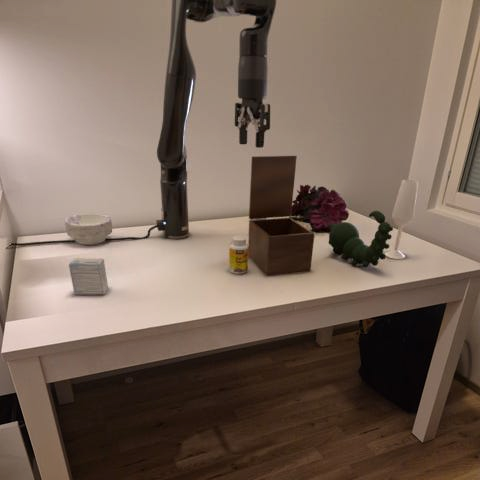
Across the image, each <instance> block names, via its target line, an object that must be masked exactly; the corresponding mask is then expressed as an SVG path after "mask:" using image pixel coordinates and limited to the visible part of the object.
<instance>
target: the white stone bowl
mask: <svg viewBox="0 0 480 480" xmlns="http://www.w3.org/2000/svg"><path fill="white" fill-rule="evenodd" d="M64 226H65V230H66V231H65V232H66V235H67V236H68V237H70V238H72V239H73V240H75V241H76V242H75V243H77V244H80V245H85V246H92V245H99V244H101V243H103V242H106V241H105V239H108V236H109V235H111V234H112V233H113V223H112V218H111V217H110V216H109V215H106V214H102V213H79V214H74V215H70V216H68V217H66V218H65V220H64Z"/></svg>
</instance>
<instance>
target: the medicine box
mask: <svg viewBox="0 0 480 480" xmlns="http://www.w3.org/2000/svg"><path fill="white" fill-rule="evenodd" d="M68 268H69V272H70V279H71V284H72V289H73V294H74V295H77V296H78V295H80V296H81V295H82V296H83V295H105V294H106V293H107V291H108V289H109V282H108V277H107V270H106V264H105V259H104V258H103V257H101V258H97V257H96V258H95V257H94V258H93V257H90V258H89V257H88V258H87V257H83V258H80V257H79V258H78V257H77V258H75V257H74V258H73V259H72V260H71V261H70V262H69V263H68Z"/></svg>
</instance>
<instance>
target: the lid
mask: <svg viewBox="0 0 480 480" xmlns="http://www.w3.org/2000/svg"><path fill="white" fill-rule="evenodd" d="M297 159H298V156H297V155H261V156H260V155H259V156H251V165H250V187H249V206H248V207H249V209H248V210H249V211H248V219H249V220H250V219H259V218H266V219H275V218H289V217H292V216H291V210H292V205H293V202H292V201H294V200H293V198H294V189H295V180H296V170H297Z"/></svg>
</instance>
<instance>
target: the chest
mask: <svg viewBox="0 0 480 480" xmlns="http://www.w3.org/2000/svg"><path fill="white" fill-rule="evenodd" d="M314 242H315V232H313V231H312V230H310V229H309V228H307V227H306V226H304V225H303V224H302V223H299V221H295V220H293V219H292V218H289V217H275V218H266V219H261V220H250V219H249V220H248V243H247V245H248V258H250V260H252V262H253V263H254V264H255V265H256V267H258V269H260V270H261V271H262V272H263V273H264V275H266V277H269V276H277V275H278V276H279V275H290V274H299V273H306V272H308V273H309V272H311V269H312V261H313V250H314Z"/></svg>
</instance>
